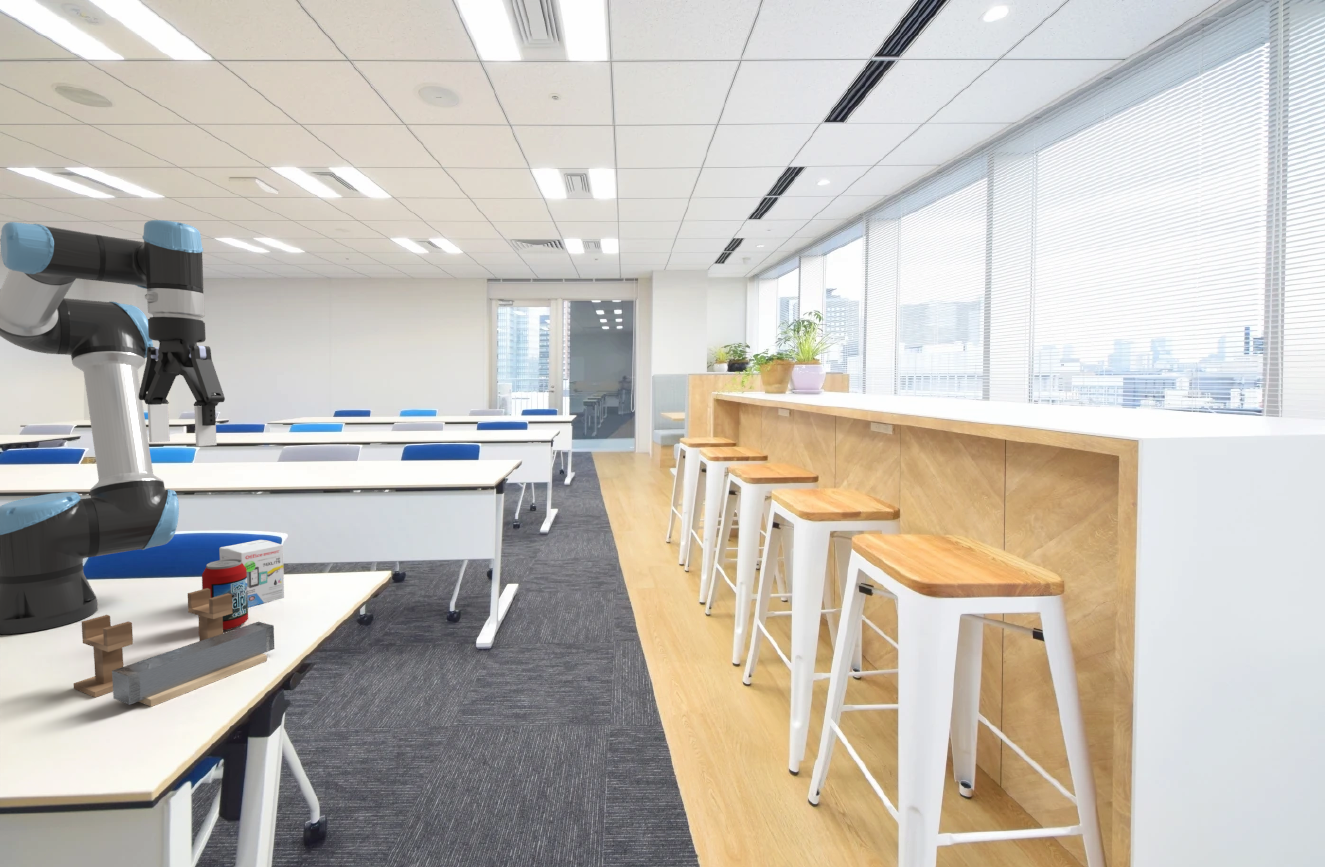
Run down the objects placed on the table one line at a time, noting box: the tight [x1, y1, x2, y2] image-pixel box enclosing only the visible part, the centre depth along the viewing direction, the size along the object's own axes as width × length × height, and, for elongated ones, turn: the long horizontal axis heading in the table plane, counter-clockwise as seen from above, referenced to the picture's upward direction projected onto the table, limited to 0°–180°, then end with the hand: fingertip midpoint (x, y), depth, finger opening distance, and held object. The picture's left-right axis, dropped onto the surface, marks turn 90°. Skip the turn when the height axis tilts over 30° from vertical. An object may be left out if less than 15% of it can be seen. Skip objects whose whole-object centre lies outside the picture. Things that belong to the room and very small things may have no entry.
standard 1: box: [73, 614, 134, 698], centre depth 90 cm, size 7×6×10 cm
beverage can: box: [201, 559, 249, 632], centre depth 113 cm, size 7×7×12 cm
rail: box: [112, 621, 275, 705], centre depth 93 cm, size 4×20×4 cm, turn 156°
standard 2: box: [182, 588, 233, 647], centre depth 103 cm, size 7×6×10 cm
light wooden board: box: [138, 653, 268, 707], centre depth 93 cm, size 6×16×1 cm, turn 156°
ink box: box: [218, 539, 285, 608], centre depth 127 cm, size 8×8×12 cm
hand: (182, 443), depth 103 cm, fingers open, 13 cm apart
